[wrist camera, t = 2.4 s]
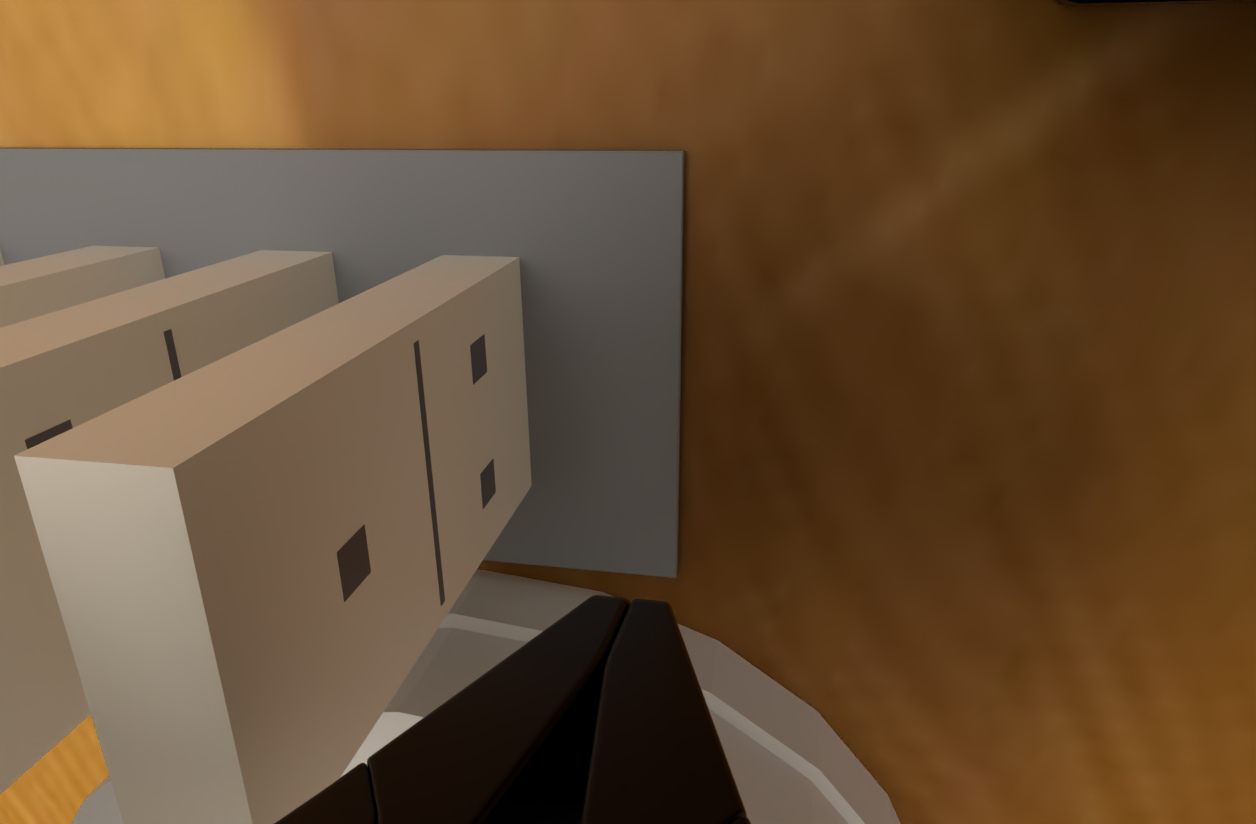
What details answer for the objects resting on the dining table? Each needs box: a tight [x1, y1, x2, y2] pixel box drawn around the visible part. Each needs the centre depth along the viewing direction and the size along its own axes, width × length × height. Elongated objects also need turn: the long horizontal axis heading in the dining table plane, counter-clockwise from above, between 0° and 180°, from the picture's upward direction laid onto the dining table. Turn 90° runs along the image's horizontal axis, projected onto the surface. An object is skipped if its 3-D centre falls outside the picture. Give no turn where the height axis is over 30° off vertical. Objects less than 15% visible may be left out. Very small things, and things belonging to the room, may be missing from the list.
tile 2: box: [0, 250, 339, 794], centre depth 13 cm, size 2×5×10 cm, turn 0°
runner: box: [0, 148, 684, 578], centre depth 19 cm, size 21×9×1 cm, turn 90°
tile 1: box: [14, 255, 532, 824], centre depth 13 cm, size 2×5×10 cm, turn 179°
